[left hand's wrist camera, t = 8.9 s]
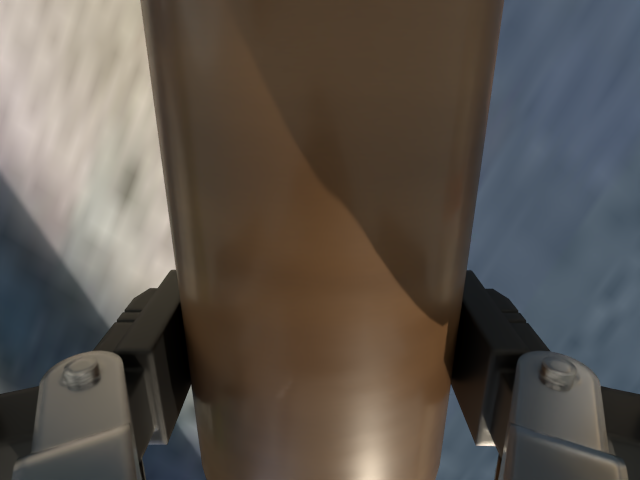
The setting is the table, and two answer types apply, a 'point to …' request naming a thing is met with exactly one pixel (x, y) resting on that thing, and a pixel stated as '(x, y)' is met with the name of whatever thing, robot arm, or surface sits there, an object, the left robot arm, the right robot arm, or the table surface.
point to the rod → (321, 222)
